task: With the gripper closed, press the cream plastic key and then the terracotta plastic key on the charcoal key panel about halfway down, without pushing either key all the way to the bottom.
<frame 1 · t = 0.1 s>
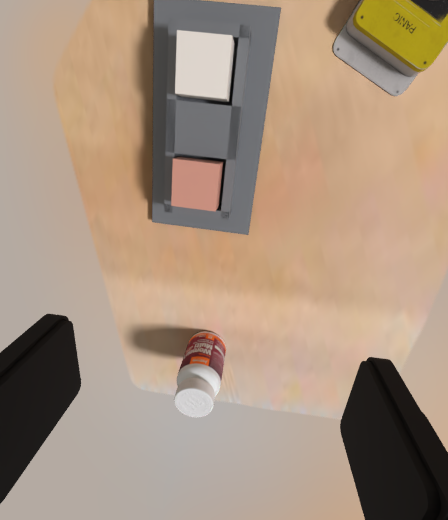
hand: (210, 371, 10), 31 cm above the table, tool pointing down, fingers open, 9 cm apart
emergency button: (412, 1, 30), on the table
pill bottle: (207, 344, 48), on the table
terracotta key: (197, 183, 33), point 5 cm above the table, slide at 0.0 cm
key panel: (208, 130, 36), on the table
cream key: (205, 69, 29), point 5 cm above the table, slide at 0.0 cm
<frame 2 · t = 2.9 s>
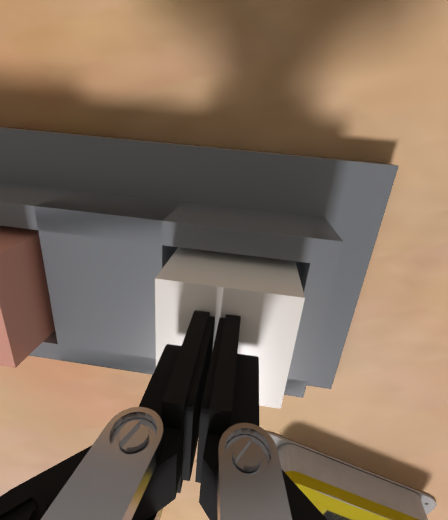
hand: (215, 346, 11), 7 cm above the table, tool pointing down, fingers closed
emergency button: (317, 487, 24), on the table
key panel: (142, 260, 17), on the table
cream key: (227, 322, 12), point 5 cm above the table, slide at 0.0 cm, touching gripper
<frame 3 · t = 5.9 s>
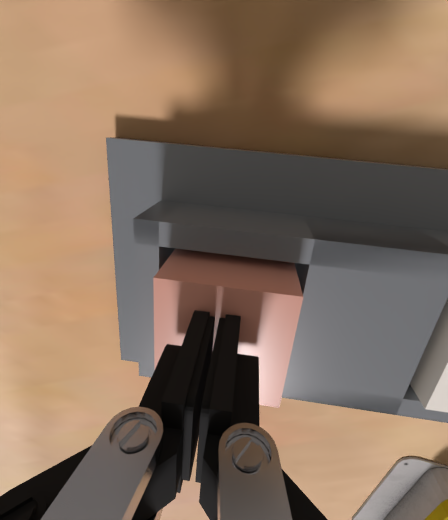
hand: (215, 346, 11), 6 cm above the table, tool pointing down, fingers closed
terracotta key: (225, 322, 12), point 5 cm above the table, slide at 0.3 cm, touching gripper
key panel: (334, 285, 16), on the table
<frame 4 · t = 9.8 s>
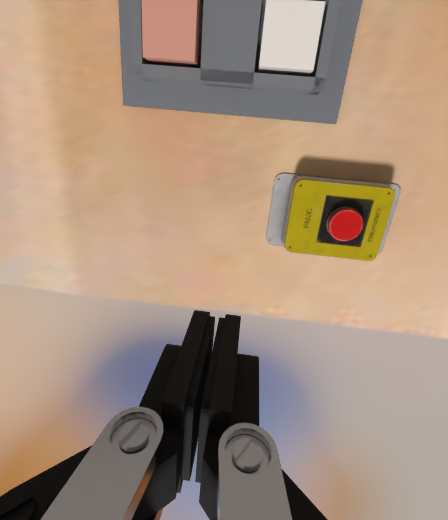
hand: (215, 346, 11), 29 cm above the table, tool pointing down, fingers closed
emergency button: (328, 214, 38), on the table
terracotta key: (173, 32, 28), point 4 cm above the table, slide at 1.2 cm
key panel: (233, 47, 31), on the table
cream key: (288, 40, 28), point 4 cm above the table, slide at 1.3 cm
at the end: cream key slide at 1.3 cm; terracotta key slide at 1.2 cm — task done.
